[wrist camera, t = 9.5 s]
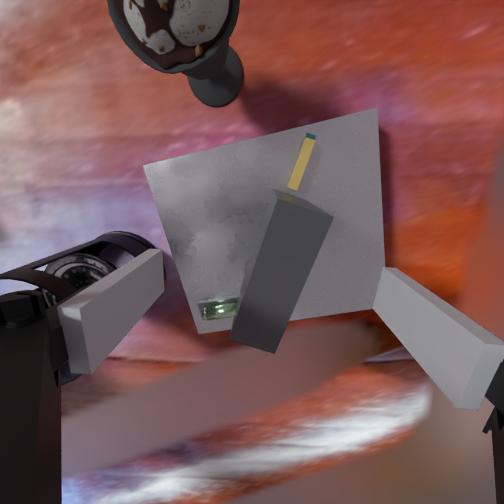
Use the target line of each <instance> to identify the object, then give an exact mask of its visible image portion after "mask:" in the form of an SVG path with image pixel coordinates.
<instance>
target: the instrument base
mask: <svg viewBox="0 0 504 504" xmlns="http://www.w3.org/2000/svg"><path fill="white" fill-rule="evenodd" d="M306 137H307V138H310V139H313V140H316V141H315V144H314V146H313V149H312V152H311V154H310V157H309V160H308V162H307V165H306V168H305V171H304V173H303V176H302V179H301V181H300V184H299V187H298V189H297V190H294V189H291V188H288V184H289V182H290V179H291V176H292V173H293V170H294V167H295V165H296V162H297V159H298V156H299V153H300V151H301V148H302V145H303V142H304V139H305V138H306ZM143 168H144V171H145V174H146V177H147V180H148V183H149V186H150V189H151V192H152V195H153V198H154V201H155V204H156V207H157V210H158V213H159V216H160V219H161V222H162V225H163V228H164V231H165V234H166V237H167V240H168V243H169V246H170V249H171V252H172V255H173V258H174V261H175V264H176V267H177V270H178V273H179V276H180V279H181V282H182V285H183V288H184V291H185V294H186V297H187V300H188V303H189V306H190V309H191V312H192V315H193V318H194V321H195V324H196V327H197V330H198V333H199V334H203V333H210V332H217V331H223V330H230V329H231V328H232V323H233V319H234V315H235V311H236V307H237V302H238V298H239V294H240V290H241V286H242V281H243V278H244V275H245V272H246V269H247V266H248V263H249V260H250V257H251V254H252V251H253V248H254V245H255V242H256V239H257V236H258V233H259V230H260V227H261V224H262V221H263V218H264V215H265V212H266V209H267V206H268V203H269V200H270V198H271V195H272V192H273V189H275V190H278V191H281V192H284V193H287V194H290V195H293V196H296V197H299V198H302V199H305V200H307V201H309V202H310V203H312V204H313V205H315V206H317V207H318V208H320V209H322V210H323V211H325V212H326V213H328V214H330V215H331V216H333V217H334V219H333V221H332V223H331V225H330V228H329V230H328V232H327V235H326V237H325V239H324V242H323V244H322V246H321V248H320V251H319V253H318V255H317V258H316V260H315V262H314V264H313V267H312V269H311V271H310V274H309V276H308V278H307V280H306V283H305V285H304V287H303V290H302V292H301V294H300V297H299V299H298V301H297V303H296V306H295V308H294V310H293V313H292V315H291V317H290V319H289V321H292V320H299V319H306V318H313V317H320V316H327V315H334V314H341V313H347V312H354V311H361V310H368V309H373V304H374V301H375V297H376V293H377V289H378V285H379V281H380V277H381V273H382V270H383V267H385V253H384V233H383V213H382V192H381V172H380V152H379V132H378V111H377V108H373V109H369V110H365V111H361V112H357V113H353V114H349V115H345V116H341V117H337V118H333V119H329V120H325V121H321V122H317V123H313V124H309V125H305V126H301V127H297V128H293V129H289V130H285V131H280V132H276V133H272V134H268V135H264V136H260V137H256V138H252V139H248V140H244V141H240V142H236V143H232V144H228V145H224V146H220V147H216V148H212V149H208V150H204V151H200V152H196V153H192V154H187V155H183V156H179V157H175V158H171V159H167V160H163V161H159V162H155V163H151V164H147V165H143Z"/></svg>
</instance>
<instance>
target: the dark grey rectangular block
mask: <svg viewBox="0 0 504 504" xmlns="http://www.w3.org/2000/svg"><path fill="white" fill-rule="evenodd" d="M315 141H316V140H313V139H310V138H307V137H306V138H305V139H304V142H303V145H302V148H301V151H300V153H299V156H298V159H297V162H296V165H295V167H294V170H293V173H292V176H291V179H290V182H289V184H288V188H291V189H294V190H297V189H298V187H299V184H300V181H301V179H302V176H303V173H304V171H305V168H306V165H307V162H308V160H309V157H310V154H311V152H312V149H313V146H314V144H315ZM333 219H334V217H333V216H331V215H330V214H328V213H326V212H325V211H323V210H322V209H320V208H318V207H317V206H315V205H313V204H312V203H310V202H309V201H307V200H305V199H302V198H299V197H296V196H293V195H290V194H287V193H284V192H281V191H278V190H275V189H273V192H272V195H271V198H270V200H269V203H268V206H267V209H266V212H265V215H264V218H263V221H262V224H261V227H260V230H259V233H258V236H257V239H256V242H255V245H254V248H253V251H252V254H251V257H250V260H249V263H248V266H247V269H246V272H245V275H244V278H243V281H242V286H241V290H240V294H239V298H238V302H237V307H236V311H235V315H234V319H233V323H232V328H231V332H230V336H229V340H231V341H234V342H238V343H241V344H244V345H247V346H251V347H254V348H257V349H260V350H264V351H267V352H271V353H273V354H274V353H275V351H276V349H277V347H278V345H279V342H280V340H281V338H282V336H283V333H284V331H285V329H286V326H287V324H288V322H289V319H290V317H291V315H292V313H293V310H294V308H295V306H296V303H297V301H298V299H299V297H300V294H301V292H302V290H303V287H304V285H305V283H306V280H307V278H308V276H309V274H310V271H311V269H312V267H313V264H314V262H315V260H316V258H317V255H318V253H319V251H320V248H321V246H322V244H323V242H324V239H325V237H326V235H327V232H328V230H329V228H330V225H331V223H332V221H333Z"/></svg>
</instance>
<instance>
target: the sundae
mask: <svg viewBox="0 0 504 504" xmlns="http://www.w3.org/2000/svg"><path fill="white" fill-rule="evenodd" d="M107 4H108V9H109V13H110V16H111V18H112V21H113V23H114V25H115V27H116V29H117V31H118V33H119V34H120V36H121V38H122V39H123V41H124V42H125V44H126V45H127V46H128V47H129V48H130V49H131V50H132V51H133V52H134V54H135V55H136V56H138V57H139V58H140V59H141V60H142V61H143V62H144V63H145V64H147V65H149V66H150V67H152V68H154V69H155V70H158V71H160V72H163V73H171V74H175V73H179V72H181V73H183V74H185V75H187V76H188V81H189V85H190V87H191V90H192V91H193V93H194V95H195V96H196V97H197V98H198V99H199V100H200V101H201V102H202V103H204V104H206V105H209V106H212V107H218V106H223V105H225V104H227V103H229V102H230V101H232V100H233V99H234V98H235V96H236V95H237V93H238V92H239V90H240V87H241V84H242V79H243V72H242V65H241V62H240V59H239V57H238V55H237V53H236V52H235V51H234V50H233V49H232V48H231V47H230V46H229V37H230V36H231V34H232V32H233V30H234V28H235V26H236V22H237V18H238V14H239V4H240V0H107Z"/></svg>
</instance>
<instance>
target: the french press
mask: <svg viewBox="0 0 504 504" xmlns="http://www.w3.org/2000/svg"><path fill="white" fill-rule="evenodd" d="M110 244H113V245H116V246H119V247H120V248H122V249H124V250H126V251H127V252H129V253H130V254H131V255H133V256H134V257H137V256H139V255H140V254H142V253H143V252H145V251H147V250H148V249H155V248H154V247H153V246H152V245H151V244H150V243H149V242H148V241H146V240H145V239H143V238H142V237H140V236H138V235H135V234H133V233H130V232H123V231H113V232H109V233H105V234H103V235H101V236H99V237H97V238H96V239H95V240H92V241H89V242H87V243H84V244H81V245H79V246H76V247H73V248H70V249H68V250H65V251H62V252H60V253H57V254H54V255H51V256H49V257H46V258H43V259H40V260H38V261H35V262H32V263H30V264H27V265H24V266H21V267H19V268H16V269H13V270H10V271H8V272H5V273H2V274H0V280H1V279H12V280H18V281H24V282H27V283H30V284H33V285H36V286H38V287H39V288H37V289H34V290H36V291H39V292H41V294H42V297H43V301H44V306H45V310H47V309H48V308H50V307H52V306H53V305H55V304H56V303H58V302H60V301H61V300H63V299H65V298H67V297H68V296H70V295H71V294H73V293H74V294H75V292H76V291H78V290H79V289H81V288H83V287H84V286H87V285H90V284H93V283H95V282H97V281H99V280H101V279H102V278H104V277H105V276H107V275H108V274H110V273H112V272H113V271H115V270H116V269H117V268H116V267H115V266H114V265H113V264H111V263H110V262H108V261H107V260H105V259H103V258H101V257H98V255H99V253H100V252H101V250H102V249H103V248H104V247H106V246H108V245H110ZM47 264H48V266H47V267H46V269H45V270H44V271H40V270H34V269H37V268H39V267H42V266H44V265H47ZM163 273H164V283H165V276H166V272H165V267H164V263H163ZM59 370H60V374H61V385H64V384H67V383H69V382H72V381H74V380H75V379H77V378H78V377H80V376H81V375H82V374H77V373H71V371H70V366H69V361H67V362H66V363H65V364H64V365H63V366H62V367H61V368H60V369H59Z"/></svg>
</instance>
